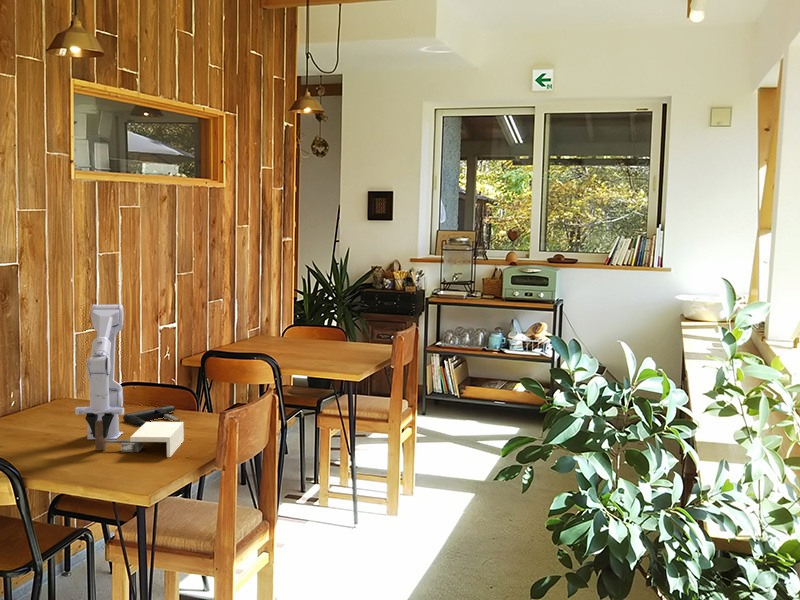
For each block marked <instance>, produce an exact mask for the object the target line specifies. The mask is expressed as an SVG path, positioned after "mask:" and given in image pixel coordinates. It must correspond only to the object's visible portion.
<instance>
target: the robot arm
mask: <svg viewBox="0 0 800 600" xmlns="http://www.w3.org/2000/svg"><path fill="white" fill-rule="evenodd" d="M124 311H125V310H124V306H123V304H121V303H118V304H95V303H93V304H92V306H91V308H90V319H91V322H92V327H93V329H94V331H96V338H94V339H93V340H92V343H91V349H90V356H89V358H87V360H86V372H87V379H88V381H89V384H88V385H89V386H88V387H89V389H88V390H89V406H77V407H75V408H74V411H75V412H74V413H75V415H78V416H79V415H85V417H84V418H85V421H86V423H87V438H86V439H87V440H95V422H96V421H97V420H102V423H103V438H106V440H118V438H120V436H121V434H122V435H123V434H124V432H123V431H120V425H119V424H120V422H119V421H120V419H119V416H124V415H125V407H124V406H123V405H124V393H123V392H124V391H123V390H124V388H123V386H122V385H121V384H120V383H119V382H117V381H116V380H115V367H116V366H115V365H116V338H117V336H118V332H120V331H122V330H123V327H124V316H125V313H124Z"/></svg>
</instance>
